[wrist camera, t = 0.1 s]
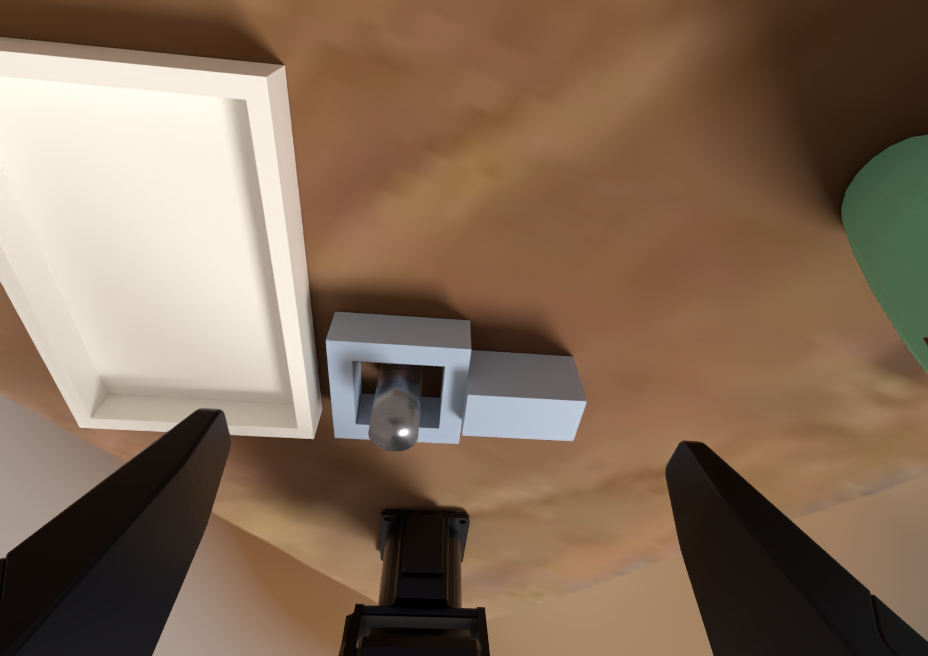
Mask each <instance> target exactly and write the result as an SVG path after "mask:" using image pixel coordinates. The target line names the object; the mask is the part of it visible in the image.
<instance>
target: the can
mask: <svg viewBox="0 0 928 656" xmlns="http://www.w3.org/2000/svg"><path fill="white" fill-rule="evenodd" d="M422 379H423V365H412V364H396V363H381V364H380V370H379V375H378V381H377V387H376V392H375V398H374V403H373V409H372V414H371V420H370V425H369V431H368V436H369V439H370V441H371V442H372V443H373V444H374V445H375V446H377V447H379V448H381V449H383V450H387V451H403V450H406V449H408V448H410V447H412V446H413V445H414V444H415V443H416V442H417V440H418V433H419V419H420V406H421V392H422Z"/></svg>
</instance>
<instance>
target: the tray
mask: <svg viewBox="0 0 928 656" xmlns="http://www.w3.org/2000/svg"><path fill="white" fill-rule="evenodd" d="M0 282H1V284H2V285H3V287H4V289H5V291H6V293H7V295H8V296H9V298H10V300H11V302H12V304H13V306H14V307H15V309H16V311H17V313H18V315H19V317H20V318H21V320H22V322H23V324H24V326H25V328H26V329H27V331H28V333H29V335H30V337H31V339H32V341H33V342H34V344H35V346H36V348H37V350H38V352H39V353H40V355H41V357H42V359H43V361H44V363H45V364H46V366H47V368H48V370H49V372H50V374H51V375H52V377H53V379H54V381H55V383H56V385H57V386H58V388H59V390H60V392H61V394H62V396H63V397H64V399H65V401H66V403H67V405H68V407H69V408H70V410H71V412H72V414H73V416H74V418H75V419H76V421H77V423H78V425H79V427H80V428H99V429H119V430H140V431H160V432H168V431H169V430H170V429H172V428H173V427H174V426H176V425H177V424H178V423H180V422H181V421H182V420H183V419H185V418H186V417H187V416H189V415H190V414H191V413H193V412H194V411H195V410H197V409H199V408H215V409H221V410H223V412H224V414H225V417H226V421H227V425H228V429H229V433H230V435H242V436H263V437H283V438H304V439H314V437H315V433H316V430H317V426H318V423H319V419H320V416H321V413H322V400H321V391H320V382H319V373H318V364H317V355H316V346H315V337H314V327H313V318H312V309H311V300H310V291H309V282H308V273H307V264H306V255H305V245H304V236H303V227H302V218H301V209H300V200H299V191H298V182H297V173H296V163H295V154H294V145H293V136H292V127H291V118H290V109H289V100H288V91H287V81H286V72H285V65H277V64H267V63H257V62H247V61H237V60H227V59H217V58H207V57H197V56H187V55H177V54H167V53H157V52H147V51H137V50H127V49H117V48H107V47H97V46H87V45H77V44H67V43H57V42H47V41H37V40H27V39H17V38H7V37H0Z"/></svg>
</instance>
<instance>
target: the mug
mask: <svg viewBox="0 0 928 656" xmlns="http://www.w3.org/2000/svg"><path fill="white" fill-rule="evenodd" d="M841 217H842V222H843V225H844V228H845V231H846V234H847V237H848V240H849V242H850V245H851V248H852V251H853V254H854V256H855V258H856V260H857V262H858V264H859V266H860V268H861V270H862V272H863V274H864V276H865V278H866V280H867V282H868V284H869V285H870V287H871V289H872V291H873V293H874V295H875V297H876V298H877V300H878V302H879V303H880V305H881V307H882V308H883V310H884V312H885V313H886V315H887V316H888V318H889V320H890V321H891V323H892V324H893V326H894V327H895V329H896V331H897V332H898V334H899V335H900V337H901V339H902V340H903V342H904V343H905V345H906V347H907V348H908V349H909V351H910V352H911V353H912V355H913V356H914V357H915V358H916V360H917V361H918V362H919V364H920V365H921V366H922V368H923V369H924V370H925V372H926V373H927V374H928V135H922V136H916V137H910V138H908V139H906V140H903V141H901V142H898V143H896V144H894V145H891V146H890V147H888V148H887V149H885V150H884V151H882V152H881V153H879V154H878V155H876V156H875V157H873V158H872V159H871V160H870V161H869V162H868V163H867V164H866V165H865V166H864V167H863V168H862V169H861V170H860V171H859V172H858V173H857V174H856V176H855V177H854V179H853V180H852V182H851V184H850V185H849V187H848V188H847V190H846V192H845V196H844V199H843V203H842V207H841Z"/></svg>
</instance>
